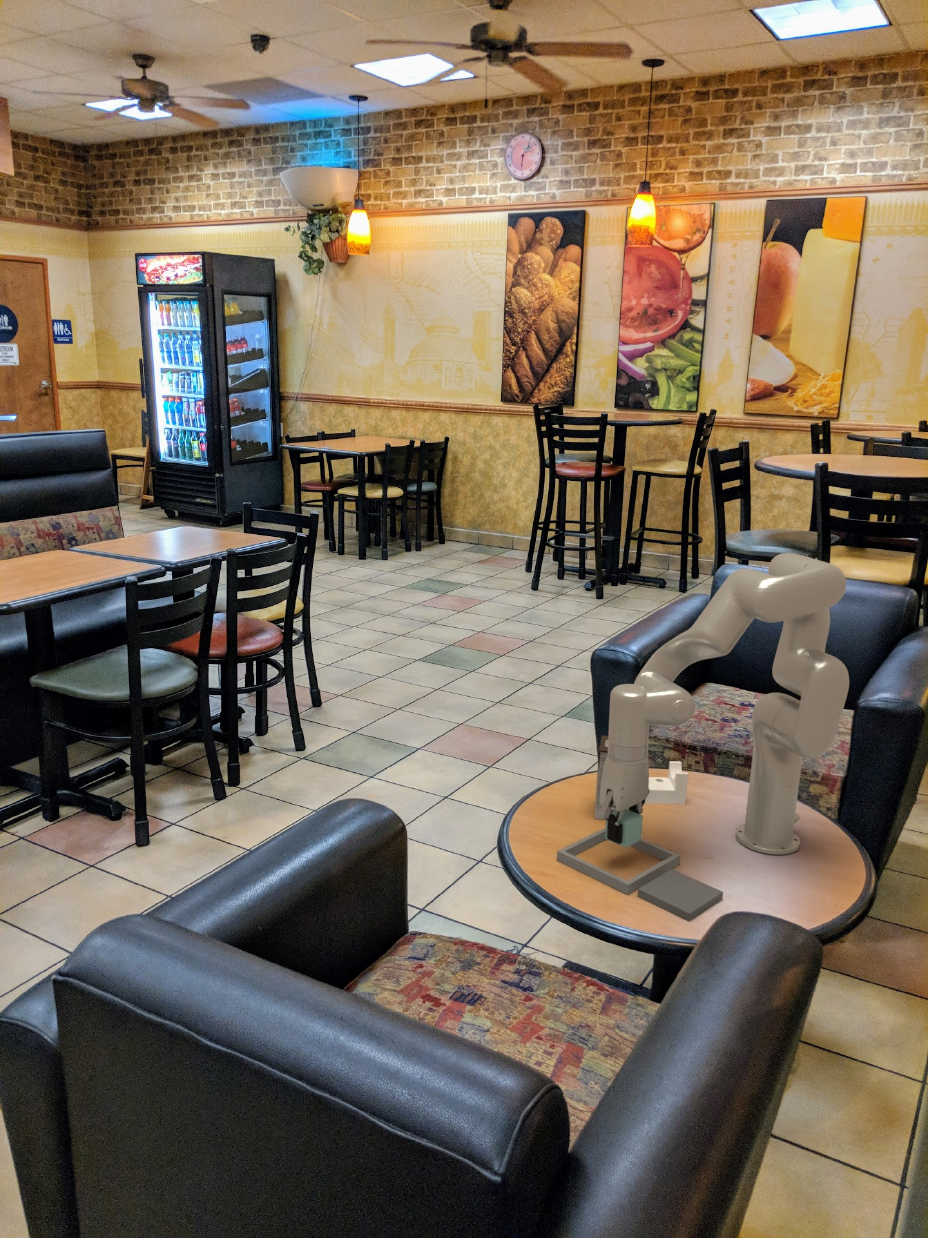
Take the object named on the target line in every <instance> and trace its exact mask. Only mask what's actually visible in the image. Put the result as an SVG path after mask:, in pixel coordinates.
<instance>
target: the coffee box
mask: <svg viewBox="0 0 928 1238" xmlns="http://www.w3.org/2000/svg"><path fill="white" fill-rule="evenodd" d="M608 736H609V735H601V737H600V742H599V748H598V759H597V774H596V787H595V788H596V789H595V801H594V819H595V820H605V821H606V819H605V818H604V817H603V816H602V815H600V814H599V811H600V809H601V807H602V805H600V788H601V779H602V773H603V767H604V763H605V760H606V758H607V757H608ZM614 806H615V805H614ZM613 812H614V810H613Z"/></svg>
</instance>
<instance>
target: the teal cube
mask: <svg viewBox="0 0 928 1238" xmlns="http://www.w3.org/2000/svg"><path fill="white" fill-rule="evenodd" d="M613 814H614V815H615V816H617V812H616V811H614V812H613ZM643 819H644V818H643V815H642V814H637V813H635V812H632V811H630V810H628V808H627V809H625V810H624V811H623V815H622V820H621V824H622V825H623V832H622V843H621V844H618V843H615V842H613V841H611V840H608V839H607V826H608V822H607V821H606V820H605V828H606V830H605V839H606V841H609V842H612V843H614V844H616V845H618V846H621V847H623V848H628V847H631V846H630V845H632V844H634V843H636V842H637V841H639V840H641V839H643V837H642V834H643Z"/></svg>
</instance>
